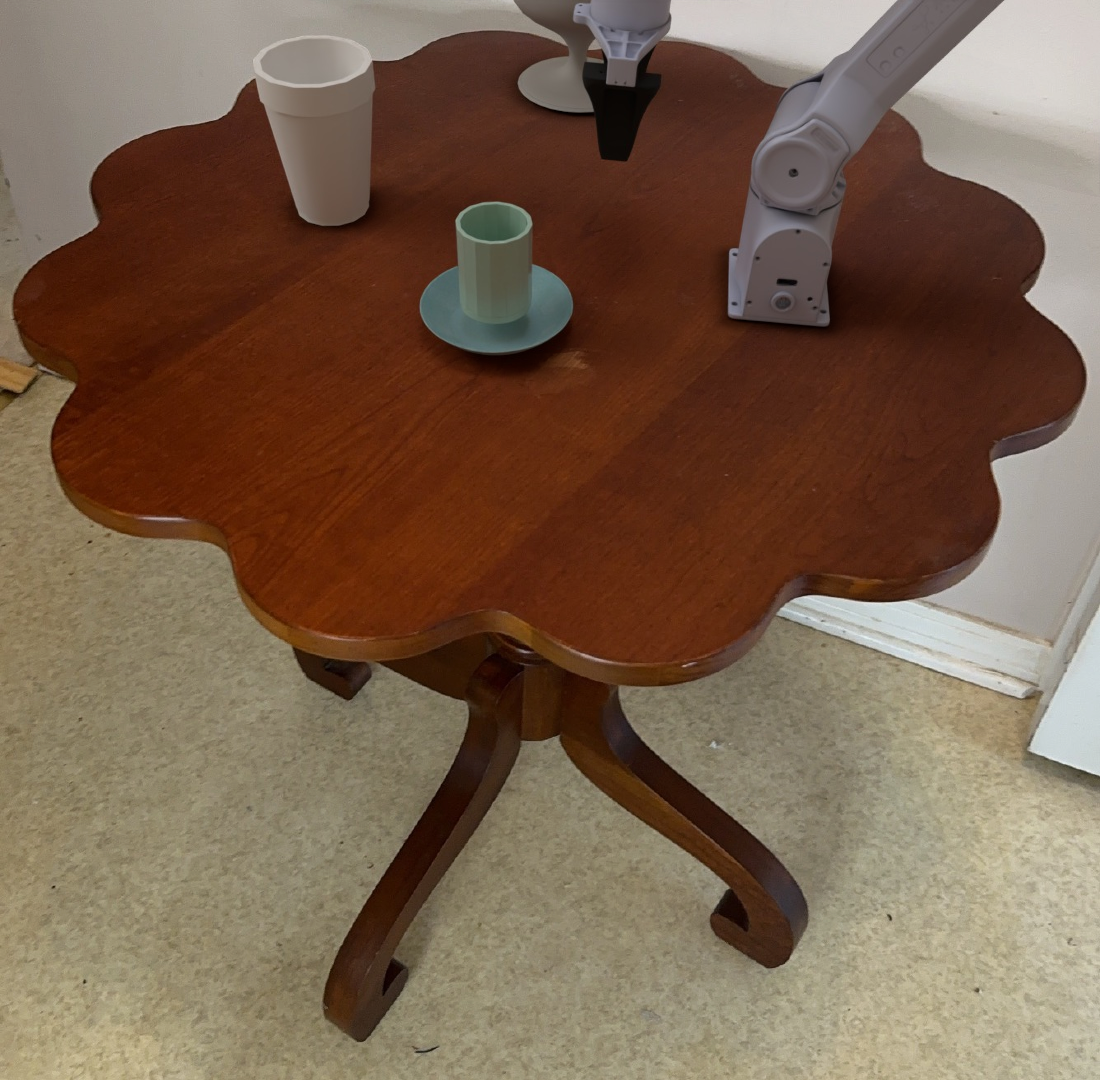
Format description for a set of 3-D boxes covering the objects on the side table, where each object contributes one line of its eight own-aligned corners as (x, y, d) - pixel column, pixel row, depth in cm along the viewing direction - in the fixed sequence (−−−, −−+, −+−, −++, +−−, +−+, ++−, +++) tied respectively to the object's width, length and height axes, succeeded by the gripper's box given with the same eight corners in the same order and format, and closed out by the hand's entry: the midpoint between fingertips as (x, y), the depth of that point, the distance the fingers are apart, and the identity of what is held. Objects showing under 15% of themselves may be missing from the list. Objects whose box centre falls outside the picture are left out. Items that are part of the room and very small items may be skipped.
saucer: (519, 394, 80) (519, 370, 79) (390, 339, 84) (388, 315, 83) (599, 313, 87) (601, 289, 85) (477, 266, 91) (476, 242, 89)
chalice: (496, 63, 116) (494, -92, 105) (622, 52, 119) (633, -100, 108) (525, 127, 107) (527, -35, 96) (661, 113, 110) (678, -46, 98)
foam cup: (331, 168, 101) (311, 25, 92) (408, 200, 98) (395, 55, 88) (256, 212, 96) (227, 65, 86) (335, 248, 92) (313, 99, 83)
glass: (539, 288, 85) (540, 208, 80) (520, 329, 82) (520, 248, 77) (472, 276, 86) (469, 196, 81) (450, 317, 83) (445, 236, 77)
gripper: (587, -95, 80) (575, 85, 91) (568, -15, 71) (557, 176, 81) (683, -86, 80) (660, 93, 90) (676, -5, 71) (652, 185, 81)
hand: (617, 133), depth 86 cm, fingers open, 7 cm apart
